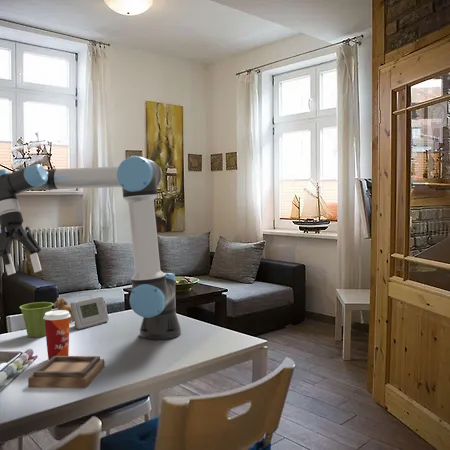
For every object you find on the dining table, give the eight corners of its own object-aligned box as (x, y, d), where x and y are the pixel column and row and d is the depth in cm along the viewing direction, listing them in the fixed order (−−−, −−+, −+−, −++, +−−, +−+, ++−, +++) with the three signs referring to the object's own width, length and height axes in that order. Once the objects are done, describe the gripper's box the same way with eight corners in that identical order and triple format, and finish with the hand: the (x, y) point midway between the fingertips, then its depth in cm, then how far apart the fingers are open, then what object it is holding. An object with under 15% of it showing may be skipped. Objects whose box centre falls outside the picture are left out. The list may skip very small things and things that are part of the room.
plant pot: (38, 329, 193) (37, 300, 192) (61, 333, 187) (60, 303, 187) (13, 337, 182) (12, 307, 182) (36, 341, 177) (35, 310, 176)
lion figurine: (51, 319, 209) (51, 298, 209) (63, 316, 213) (62, 296, 213) (71, 324, 200) (70, 302, 199) (82, 322, 204) (82, 300, 203)
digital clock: (76, 331, 190) (75, 303, 190) (65, 326, 197) (65, 300, 196) (113, 323, 202) (112, 297, 201) (102, 319, 208) (101, 294, 207)
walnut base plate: (104, 367, 149) (104, 355, 149) (86, 387, 133) (85, 374, 133) (52, 366, 150) (52, 354, 150) (28, 387, 134) (27, 373, 134)
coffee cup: (63, 364, 152) (62, 316, 151) (39, 362, 154) (37, 315, 153) (77, 355, 160) (75, 309, 159) (53, 354, 162) (52, 309, 161)
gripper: (24, 219, 184) (39, 273, 182) (-27, 216, 160) (-10, 278, 158) (41, 212, 183) (56, 267, 180) (-9, 208, 159) (8, 271, 156)
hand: (25, 272), depth 169 cm, fingers open, 13 cm apart
